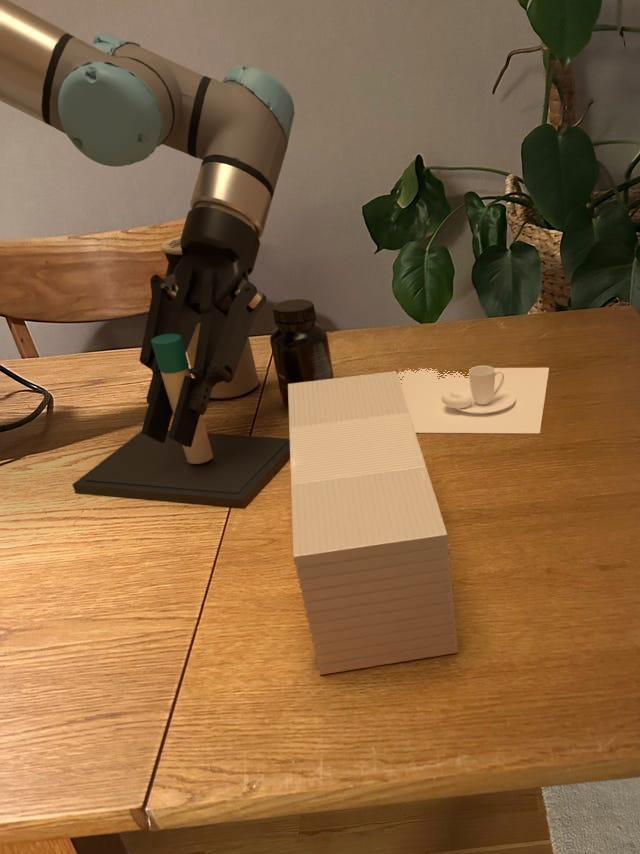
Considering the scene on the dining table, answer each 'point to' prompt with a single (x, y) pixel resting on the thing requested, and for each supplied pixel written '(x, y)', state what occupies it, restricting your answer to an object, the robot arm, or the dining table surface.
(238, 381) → the travel mug
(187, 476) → the black cutting board
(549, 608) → the dining table surface
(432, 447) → the dining table surface
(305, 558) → the stack of papers
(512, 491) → the dining table surface
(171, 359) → the marker
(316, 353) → the supplement bottle
